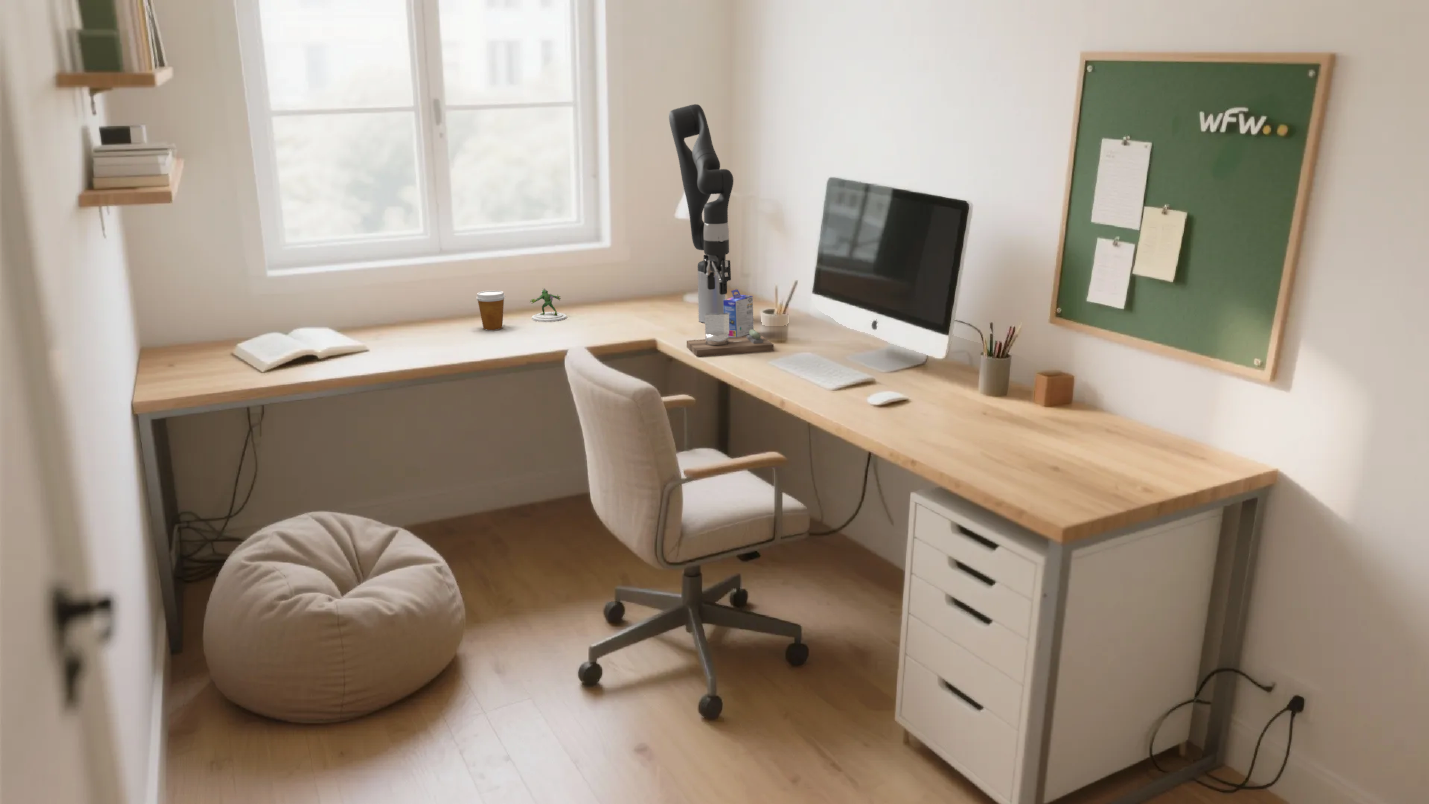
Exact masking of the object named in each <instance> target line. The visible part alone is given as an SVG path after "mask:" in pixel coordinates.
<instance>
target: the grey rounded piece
mask: <svg viewBox="0 0 1429 804" xmlns="http://www.w3.org/2000/svg"><path fill="white" fill-rule="evenodd" d="M704 327H705V329H704V334H705V341H706V344H707V345H711V346H722V345H727V344H728V338H729V337H728V334H729V313H722V314H705V323H704Z"/></svg>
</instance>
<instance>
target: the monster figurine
mask: <svg viewBox="0 0 1429 804" xmlns="http://www.w3.org/2000/svg"><path fill="white" fill-rule="evenodd" d="M554 299H556V300H558V301H561V296H559V294H557V295H555V294H552V293H549V291H548V290H547V289H546V288H544V287H543V289H542V290H541V294H540V295H539V297H537V298H536V299H535V298H532V299H530V300H529V301H530V302H529V303H531V304H534V303H536V302H538V301H540V300H543V302H544V303H543V304H541V305H542V306H541V310H542V311H541V312H540V313H536V314H533V315H532V316H531V320H532V321H534V322H537V321H538V322H539V323H553V322H560V321H564V320H566V319H567V314H566V313H563V312H557V310H556V308H555V306H554V305H553V300H554ZM548 306H549V307H550V308H551V309H552V310H553V311H545V308H546V307H548Z"/></svg>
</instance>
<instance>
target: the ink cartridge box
mask: <svg viewBox="0 0 1429 804" xmlns="http://www.w3.org/2000/svg"><path fill="white" fill-rule="evenodd" d="M730 292H731V294H732V296H731V297H729V298H725V300H723V305H724V313H729V334H728V338H730V337H744V336H747V335H750V334H749V331H750V330H751V329H754V328H755V327H754V326H755V325H754V296H753V295H746V294H741V293H740V291H739V289H737V288H736V289H733V290H731V291H730ZM735 293H736V294H735ZM754 330H755V329H754Z"/></svg>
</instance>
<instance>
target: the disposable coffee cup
mask: <svg viewBox="0 0 1429 804" xmlns="http://www.w3.org/2000/svg"><path fill="white" fill-rule="evenodd" d="M505 297H506V295H505V293H504V291H502V290H484V291H482V290H481V291H479V292H477V293H476V297H475V298H476V301H477V304H478V309H479V315H480V318H481V323H482V327H483V330H485V329H487V330H488V331H495V329H497V330H501V329H502V328H503V323H504V322H503V320H504V306H505V305H504V304H505ZM487 330H486V331H487Z"/></svg>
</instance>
